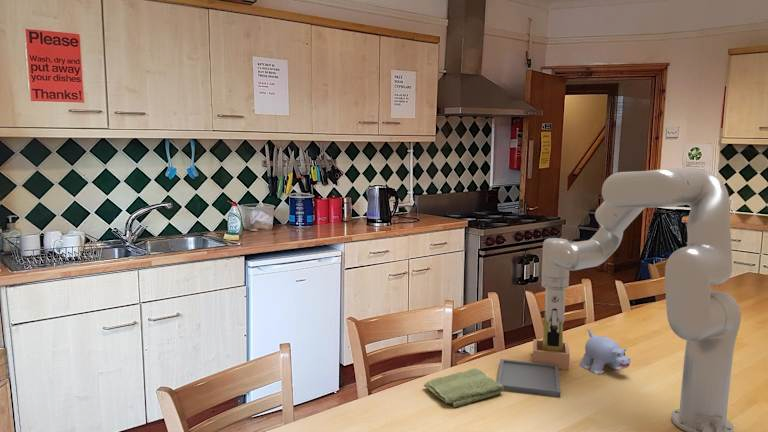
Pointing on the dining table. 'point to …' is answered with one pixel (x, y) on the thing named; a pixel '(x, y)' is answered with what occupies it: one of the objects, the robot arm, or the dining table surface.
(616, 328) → the dining table surface
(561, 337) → the vase
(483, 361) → the dining table surface
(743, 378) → the dining table surface
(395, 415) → the dining table surface
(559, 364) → the pink square frame
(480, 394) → the washcloth
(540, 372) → the tray
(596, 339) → the hippopotamus toy
